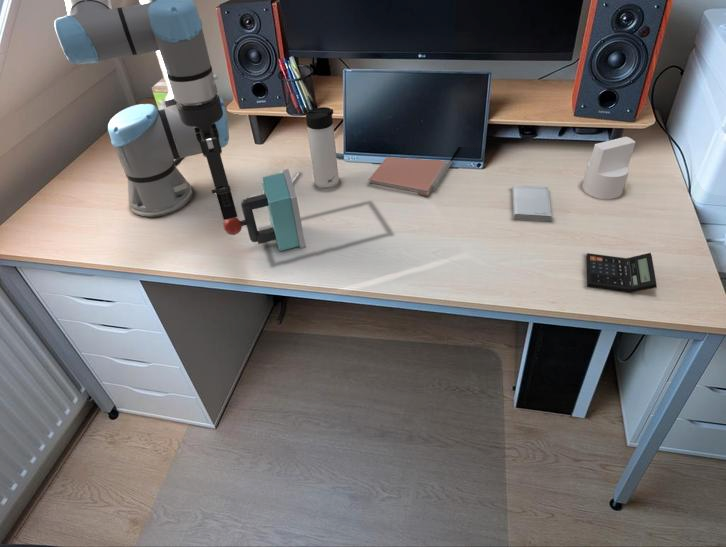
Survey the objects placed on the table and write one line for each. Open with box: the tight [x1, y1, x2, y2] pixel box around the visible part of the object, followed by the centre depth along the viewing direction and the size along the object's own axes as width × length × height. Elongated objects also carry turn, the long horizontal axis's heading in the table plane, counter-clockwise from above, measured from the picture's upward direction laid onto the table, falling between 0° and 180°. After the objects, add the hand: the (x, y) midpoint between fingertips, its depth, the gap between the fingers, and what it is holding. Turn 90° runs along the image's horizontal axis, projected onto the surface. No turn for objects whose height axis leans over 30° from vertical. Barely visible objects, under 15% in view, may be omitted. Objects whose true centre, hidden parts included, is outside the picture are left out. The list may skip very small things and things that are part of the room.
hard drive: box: [511, 184, 553, 223], centre depth 121 cm, size 2×8×12 cm
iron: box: [222, 168, 307, 252], centre depth 109 cm, size 17×9×16 cm
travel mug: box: [305, 106, 340, 190], centre depth 127 cm, size 6×7×20 cm
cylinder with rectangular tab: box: [581, 136, 636, 200], centre depth 120 cm, size 9×9×12 cm
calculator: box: [585, 252, 658, 294], centre depth 101 cm, size 9×12×3 cm
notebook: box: [368, 156, 455, 197], centre depth 137 cm, size 27×17×2 cm, turn 155°
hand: (225, 199), depth 105 cm, fingers open, 13 cm apart
